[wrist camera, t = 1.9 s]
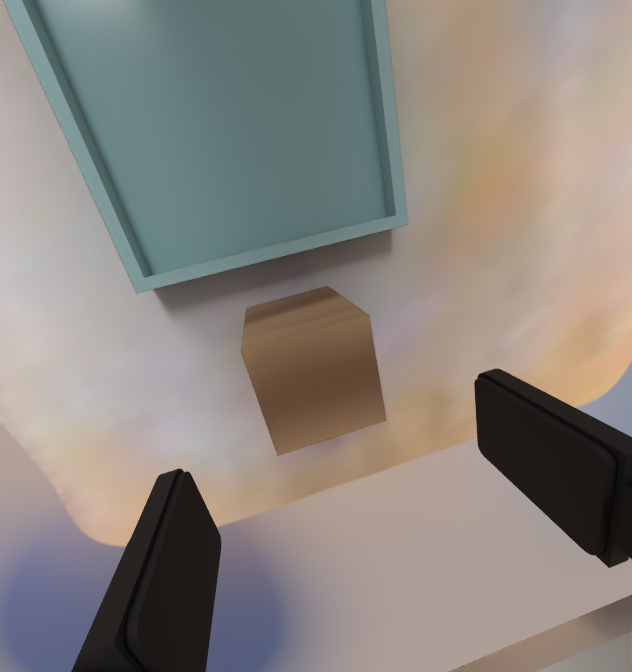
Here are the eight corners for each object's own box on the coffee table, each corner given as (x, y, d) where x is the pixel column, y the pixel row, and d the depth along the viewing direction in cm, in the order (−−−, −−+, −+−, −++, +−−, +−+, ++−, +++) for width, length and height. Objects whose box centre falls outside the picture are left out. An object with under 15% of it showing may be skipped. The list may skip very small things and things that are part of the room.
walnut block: (246, 307, 17) (240, 351, 11) (327, 286, 18) (368, 315, 11) (270, 380, 19) (277, 455, 13) (343, 358, 20) (386, 420, 13)
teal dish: (-10, -81, 11) (-64, -146, 9) (348, -123, 12) (365, -188, 10) (150, 286, 16) (136, 293, 14) (391, 225, 17) (408, 224, 15)
